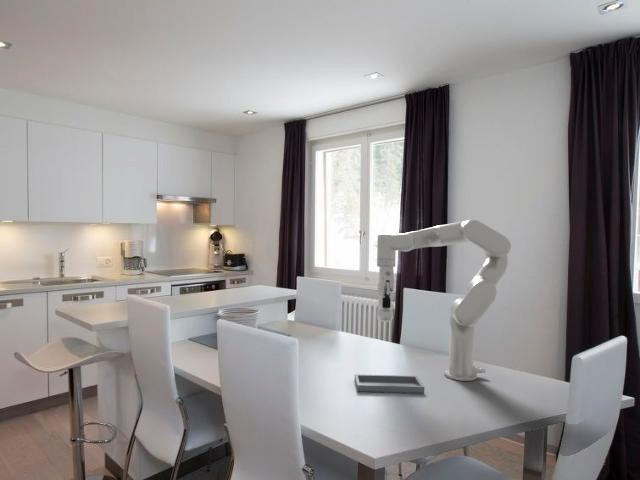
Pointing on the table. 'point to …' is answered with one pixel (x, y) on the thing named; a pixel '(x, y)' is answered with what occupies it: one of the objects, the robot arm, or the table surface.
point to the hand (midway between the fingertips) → (385, 306)
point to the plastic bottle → (384, 313)
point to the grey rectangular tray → (388, 384)
